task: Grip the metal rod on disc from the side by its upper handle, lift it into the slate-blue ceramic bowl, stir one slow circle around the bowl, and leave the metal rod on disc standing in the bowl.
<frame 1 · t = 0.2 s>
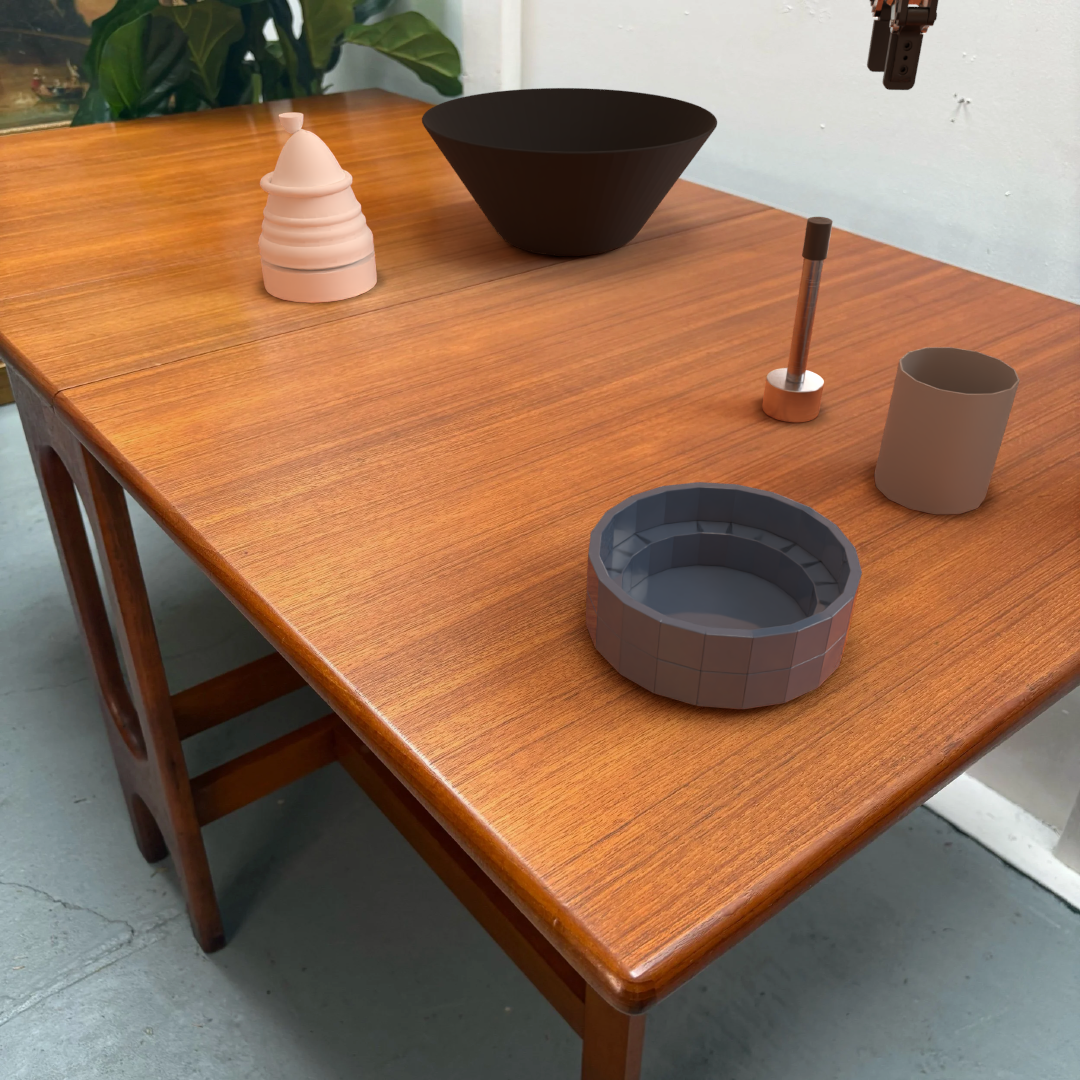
hand: (888, 79, 79), 27 cm above the table, tool pointing down, fingers open, 8 cm apart
bowl: (566, 240, 132), on the table
metal rod on disc: (790, 409, 91), on the table
honey pot: (321, 283, 118), on the table
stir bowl: (713, 627, 66), on the table
cup: (928, 488, 81), on the table
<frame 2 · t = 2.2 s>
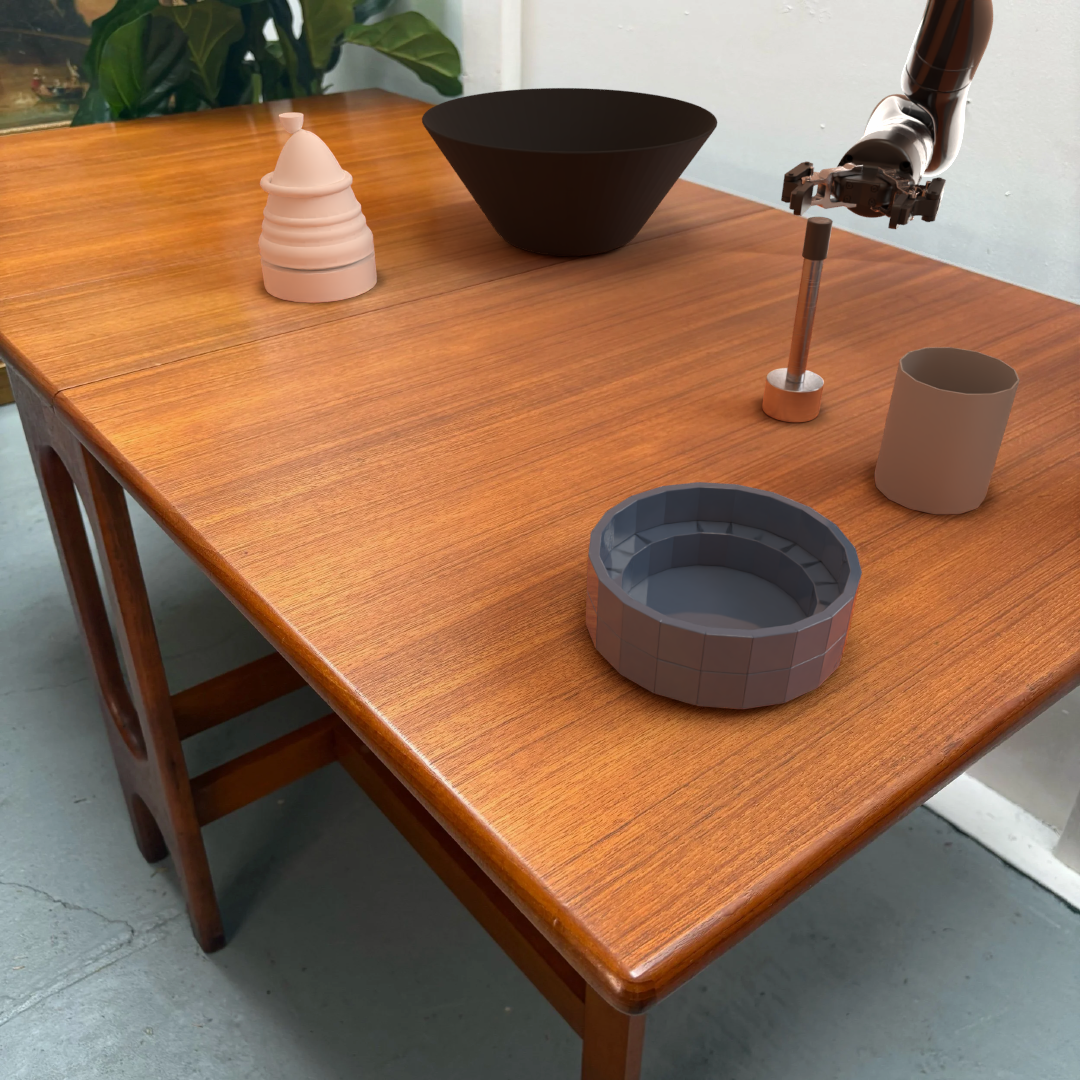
hand: (845, 211, 91), 15 cm above the table, tool horizontal, fingers open, 8 cm apart
nothing on the table moved.
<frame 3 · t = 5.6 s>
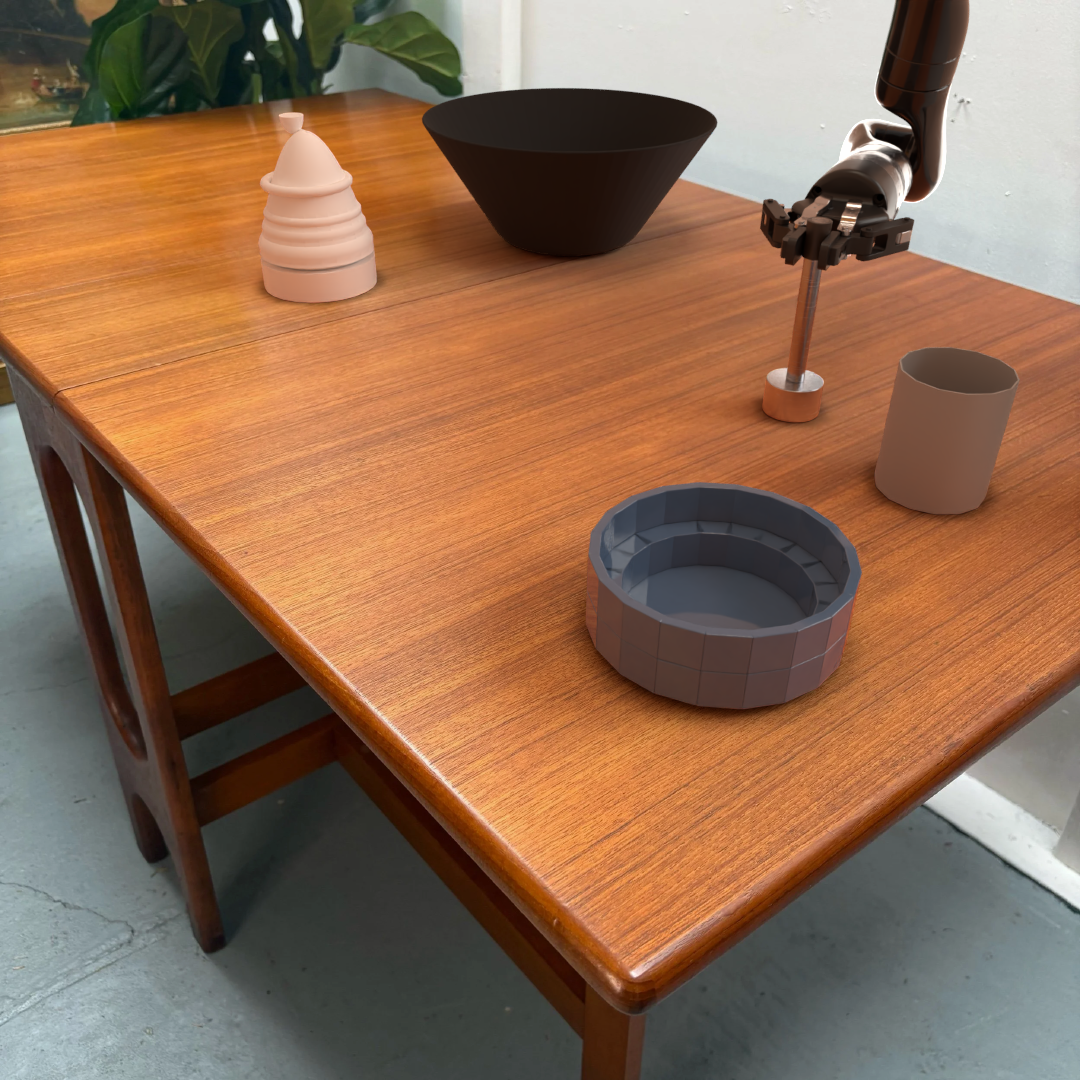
hand: (807, 255, 81), 15 cm above the table, tool horizontal, fingers closed on metal rod on disc
metal rod on disc: (790, 409, 91), on the table, touching gripper
everything else where it was.
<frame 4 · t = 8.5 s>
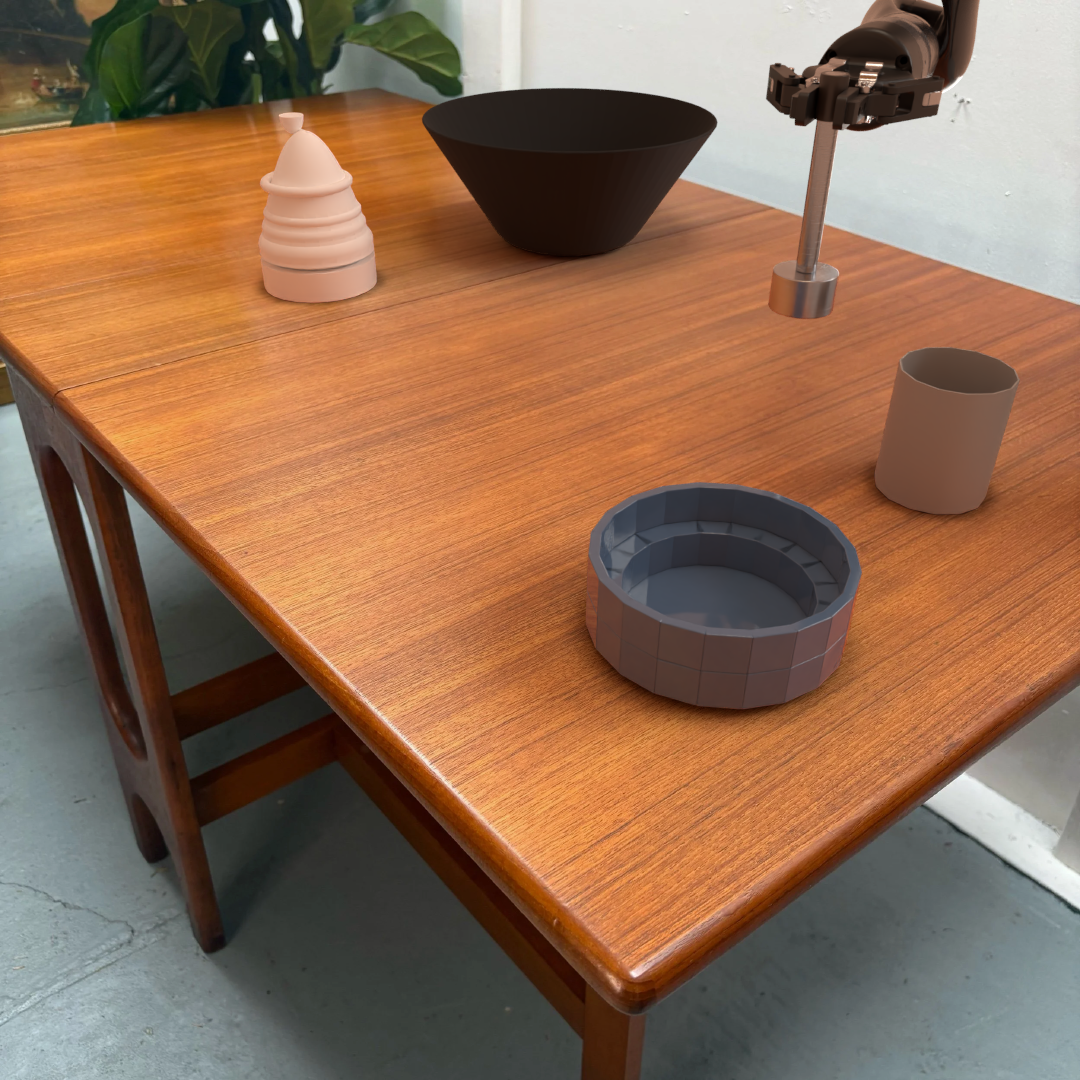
hand: (820, 112, 70), 27 cm above the table, tool horizontal, fingers closed on metal rod on disc
metal rod on disc: (800, 307, 80), point 12 cm above the table, touching gripper
everything else where it was.
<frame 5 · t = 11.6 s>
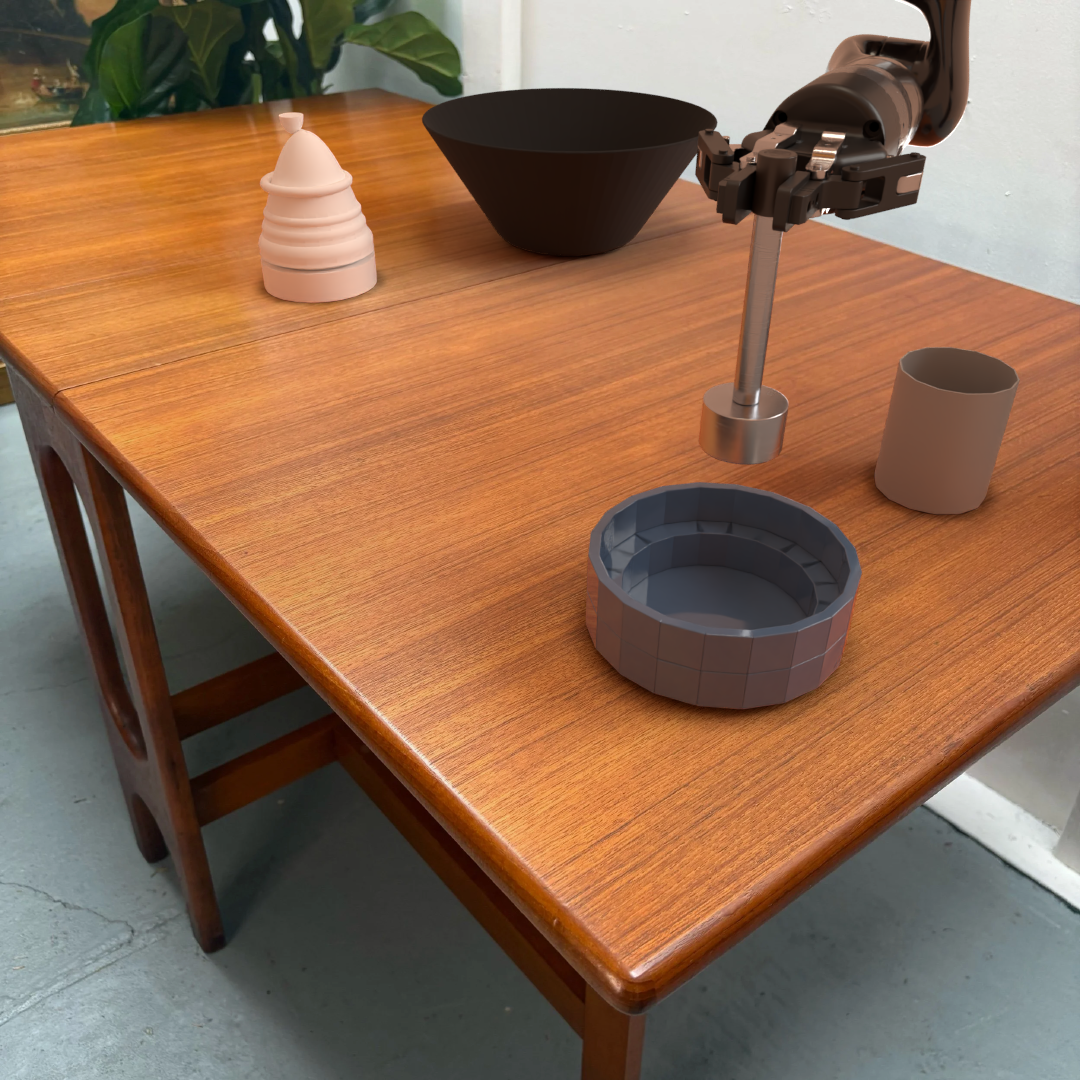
hand: (756, 207, 51), 27 cm above the table, tool horizontal, fingers closed on metal rod on disc
metal rod on disc: (740, 444, 62), point 12 cm above the table, touching gripper
everything else where it was.
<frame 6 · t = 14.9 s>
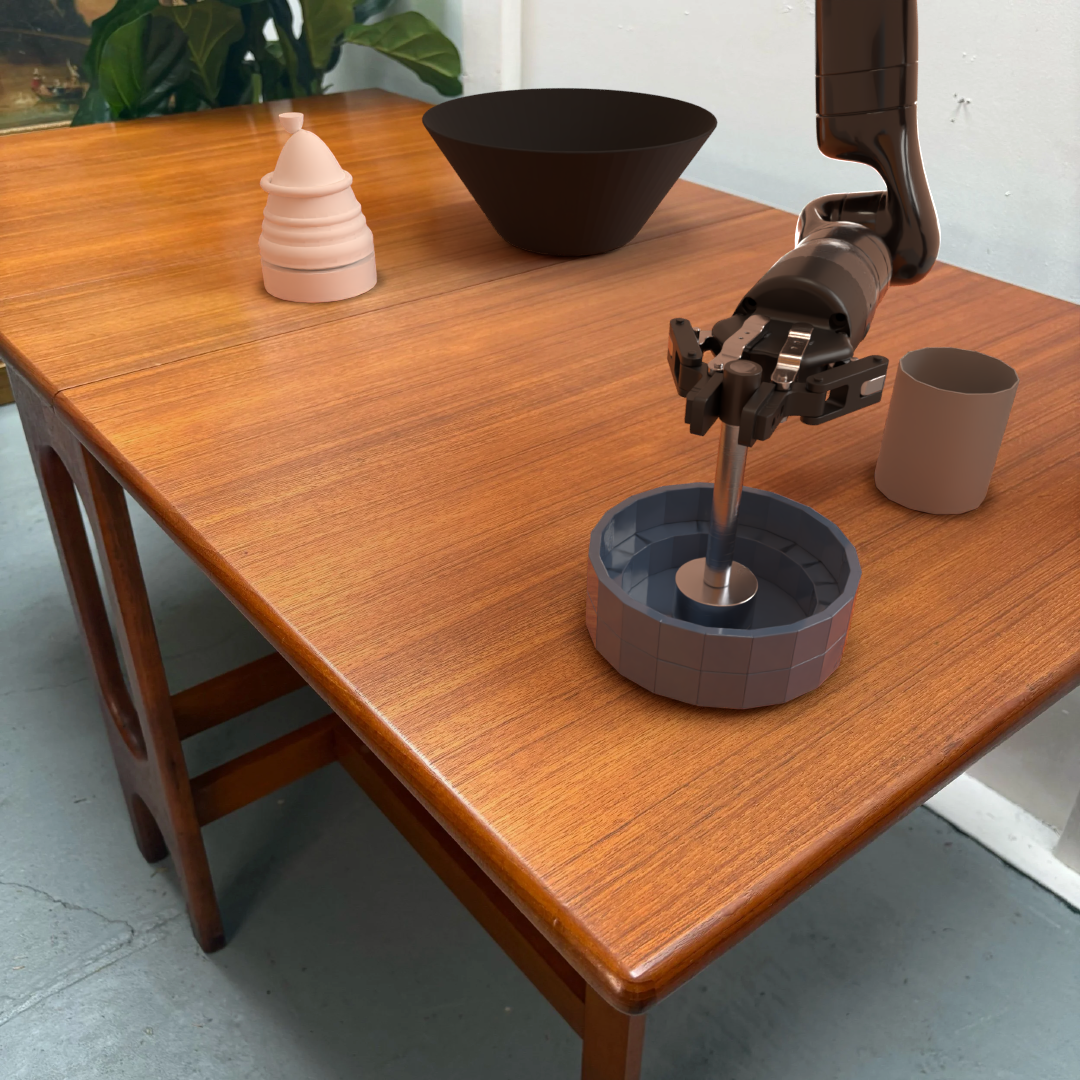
hand: (722, 424, 53), 17 cm above the table, tool horizontal, fingers closed on metal rod on disc
metal rod on disc: (711, 619, 63), point 2 cm above the table, touching gripper
everything else where it was.
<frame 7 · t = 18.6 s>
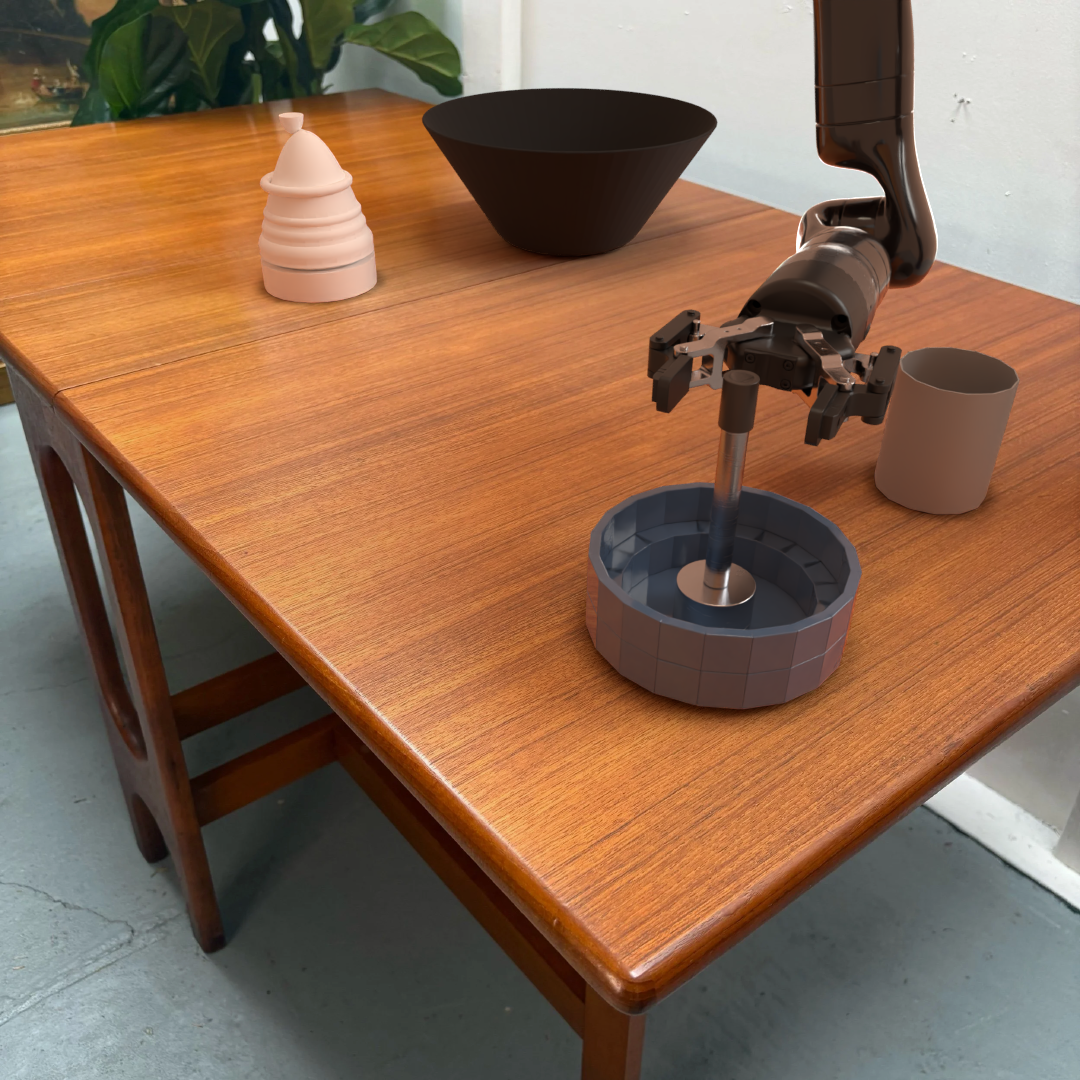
hand: (735, 413, 56), 16 cm above the table, tool horizontal, fingers open, 8 cm apart
metal rod on disc: (711, 619, 66), point 1 cm above the table, touching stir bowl
everything else where it was.
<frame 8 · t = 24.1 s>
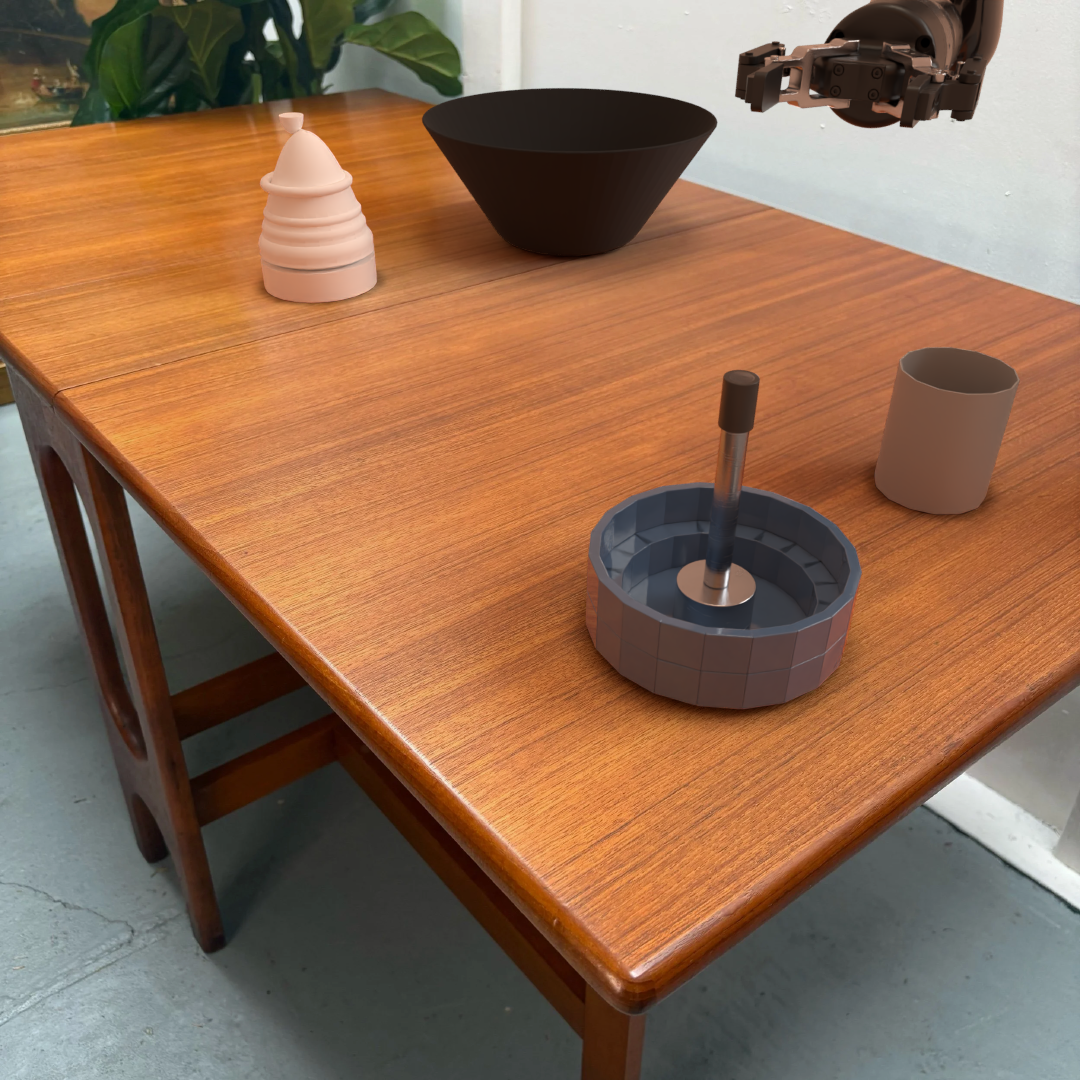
hand: (831, 100, 57), 30 cm above the table, tool horizontal, fingers open, 8 cm apart
nothing on the table moved.
at the end: metal rod on disc inside the target area in the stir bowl (0.2 cm from its centre), point 0.6 cm above the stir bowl's base; metal rod on disc tilted 0°; the gripper is holding nothing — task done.
